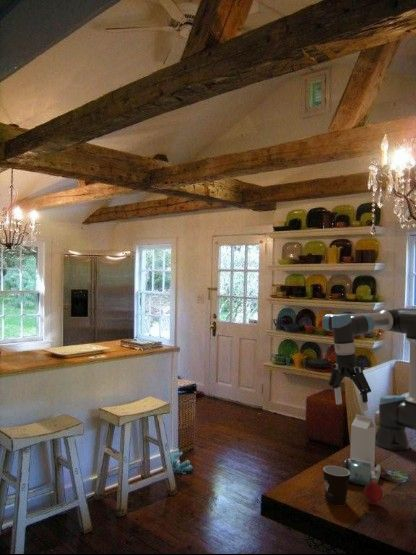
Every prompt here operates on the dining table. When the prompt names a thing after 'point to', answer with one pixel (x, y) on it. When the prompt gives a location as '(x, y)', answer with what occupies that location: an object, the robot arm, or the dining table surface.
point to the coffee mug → (336, 484)
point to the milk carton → (362, 438)
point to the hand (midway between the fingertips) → (351, 407)
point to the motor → (362, 471)
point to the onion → (373, 492)
